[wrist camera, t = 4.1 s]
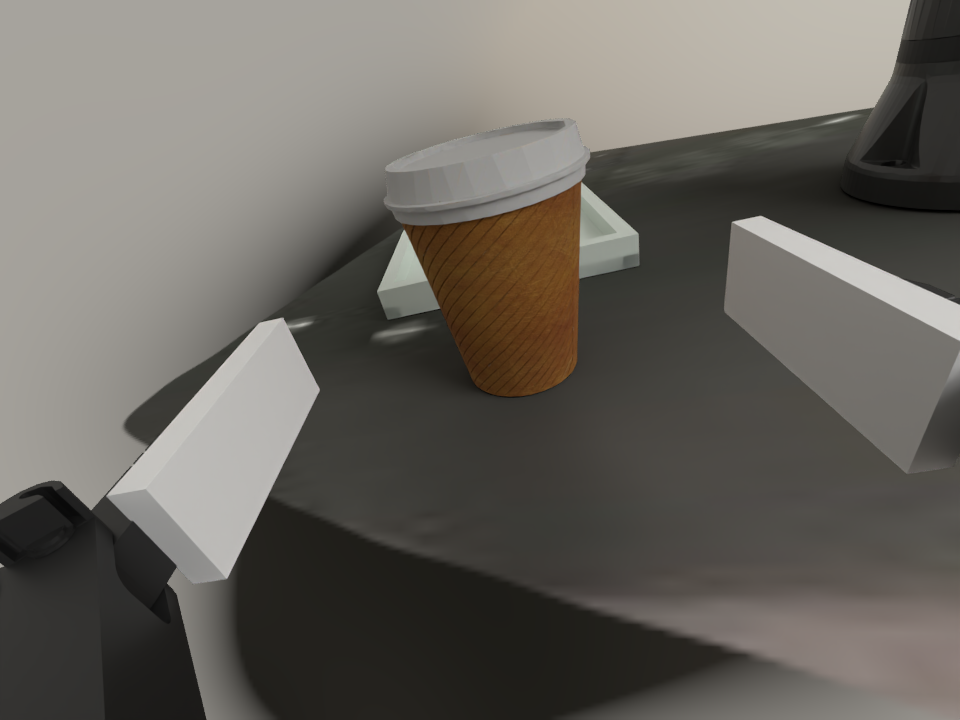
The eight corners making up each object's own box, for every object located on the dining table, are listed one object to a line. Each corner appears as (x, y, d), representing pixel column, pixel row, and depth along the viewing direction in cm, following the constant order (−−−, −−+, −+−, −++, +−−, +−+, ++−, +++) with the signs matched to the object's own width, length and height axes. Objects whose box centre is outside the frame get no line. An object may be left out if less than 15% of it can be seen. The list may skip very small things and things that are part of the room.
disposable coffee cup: (618, 408, 21) (599, 133, 15) (429, 425, 23) (341, 191, 17) (597, 314, 29) (579, 107, 22) (458, 333, 31) (405, 149, 24)
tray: (413, 242, 52) (407, 221, 51) (581, 203, 50) (579, 180, 49) (387, 319, 35) (377, 291, 34) (639, 265, 33) (638, 233, 32)
